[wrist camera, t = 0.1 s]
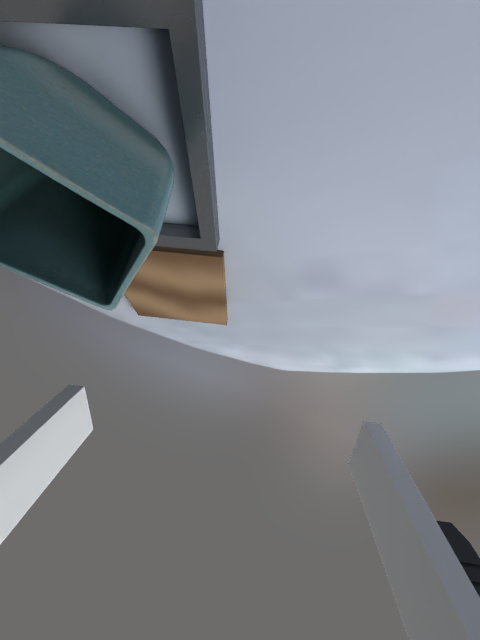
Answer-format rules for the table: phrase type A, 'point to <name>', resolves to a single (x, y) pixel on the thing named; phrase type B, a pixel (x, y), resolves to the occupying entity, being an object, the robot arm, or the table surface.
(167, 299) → the walnut board
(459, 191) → the table surface
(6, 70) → the flower pot
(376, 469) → the robot arm
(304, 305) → the table surface
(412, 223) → the table surface
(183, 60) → the metal collar
